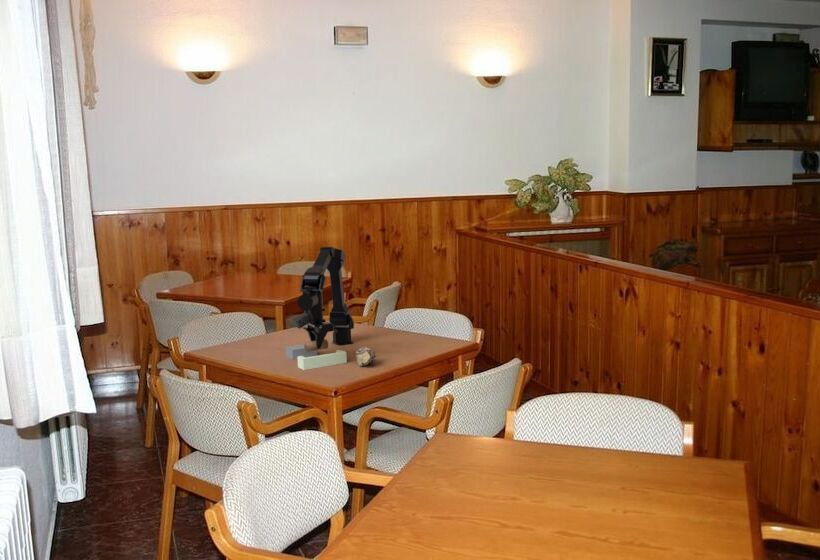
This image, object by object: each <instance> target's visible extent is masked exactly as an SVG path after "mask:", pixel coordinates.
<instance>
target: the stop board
mask: <svg viewBox="0 0 820 560" xmlns="http://www.w3.org/2000/svg"><path fill="white" fill-rule="evenodd" d="M296 360H297V368H299V369H301V370H302V371H306V370H312V369H317V368H318V369H319V368H325V367H330V366H337V365H341V364H347V362H348V361H347V360H348V359H347V351H344V350H342V349H337V350H335V352H332V353H326V354H319V355H318V354H317V356H312V357H306V358H305V357H303V356H297V359H296Z"/></svg>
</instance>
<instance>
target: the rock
mask: <svg viewBox="0 0 820 560" xmlns="http://www.w3.org/2000/svg"><path fill="white" fill-rule="evenodd" d="M376 357H377V356H376V351H374V350H373V349H372V348H370V347H368V346H364V345H363V346H361V347H359V348H358V349H357V350H356V351H355V358H356V362H357V364H358V367H363V366H364V367H365V366H367V365H373V364H374V362H375V359H376Z"/></svg>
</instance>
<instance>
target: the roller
mask: <svg viewBox="0 0 820 560" xmlns="http://www.w3.org/2000/svg"><path fill="white" fill-rule="evenodd" d="M303 344H304V347H305V350H306V352H308V351H315V350H317V351H319V350H327V349H329V341H328V340H327V339H325V338H324V341H323V343H322V345H321V348H319V349H318V348H317V345H316V341H311V340H310V341H306V342H304V343H303Z"/></svg>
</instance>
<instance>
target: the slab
mask: <svg viewBox="0 0 820 560" xmlns="http://www.w3.org/2000/svg"><path fill="white" fill-rule="evenodd" d="M304 344H305V343H302V344H295V345H288V346H285V357H287V358H288V359H290V360H294V361H295V360H298V359H297V356H303V357H305V358H306V357H312V356H318V350H315V351H308V352H306V350H305V347H304Z"/></svg>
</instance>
